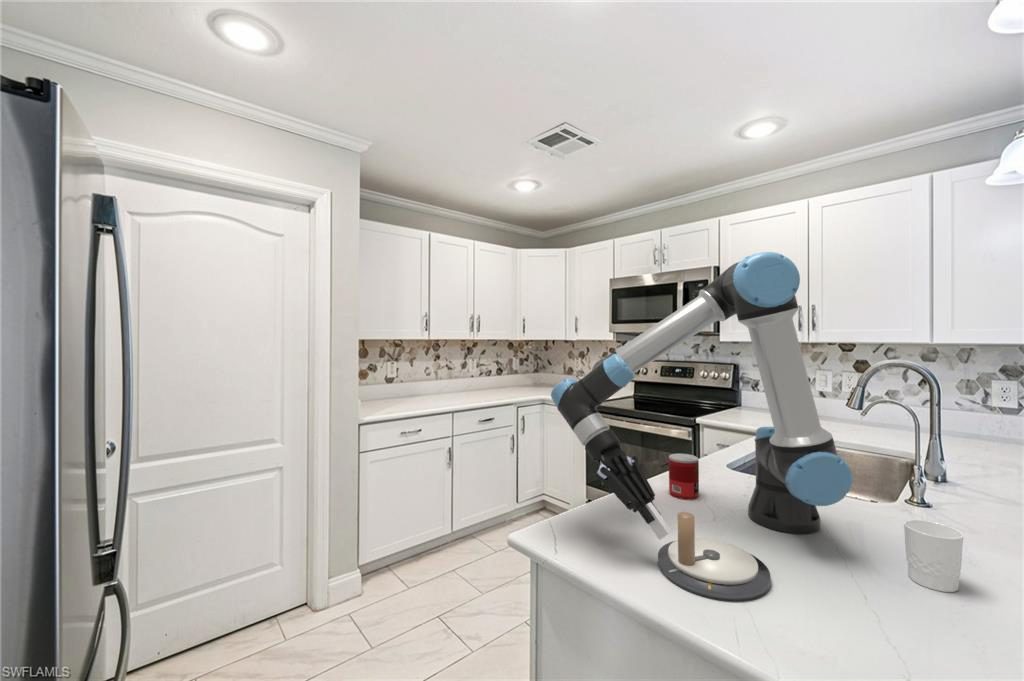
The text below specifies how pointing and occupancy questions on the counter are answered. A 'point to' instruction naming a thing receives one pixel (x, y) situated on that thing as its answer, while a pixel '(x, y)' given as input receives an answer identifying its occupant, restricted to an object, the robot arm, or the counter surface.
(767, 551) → the counter surface
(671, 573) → the dial base
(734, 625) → the counter surface
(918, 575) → the white cup
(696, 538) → the dial
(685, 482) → the canned food
